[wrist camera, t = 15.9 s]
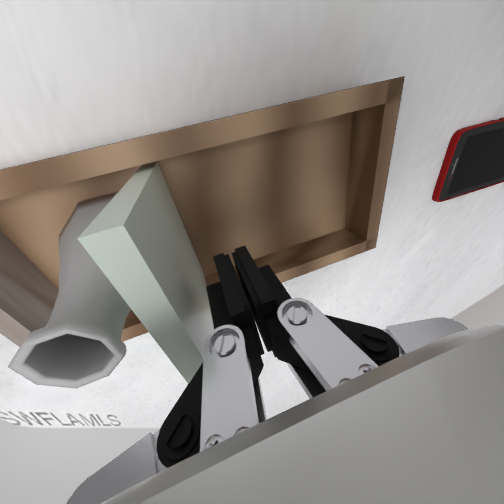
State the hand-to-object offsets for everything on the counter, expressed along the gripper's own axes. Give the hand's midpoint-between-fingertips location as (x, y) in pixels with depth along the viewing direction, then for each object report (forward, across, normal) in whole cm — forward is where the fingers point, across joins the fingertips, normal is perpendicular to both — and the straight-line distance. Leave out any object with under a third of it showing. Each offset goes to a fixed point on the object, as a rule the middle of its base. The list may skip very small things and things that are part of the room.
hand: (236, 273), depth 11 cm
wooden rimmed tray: (+9, 0, 0) cm, 9 cm away
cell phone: (+9, -33, +3) cm, 34 cm away
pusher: (+7, +3, 0) cm, 8 cm away
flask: (+8, +7, 0) cm, 10 cm away
